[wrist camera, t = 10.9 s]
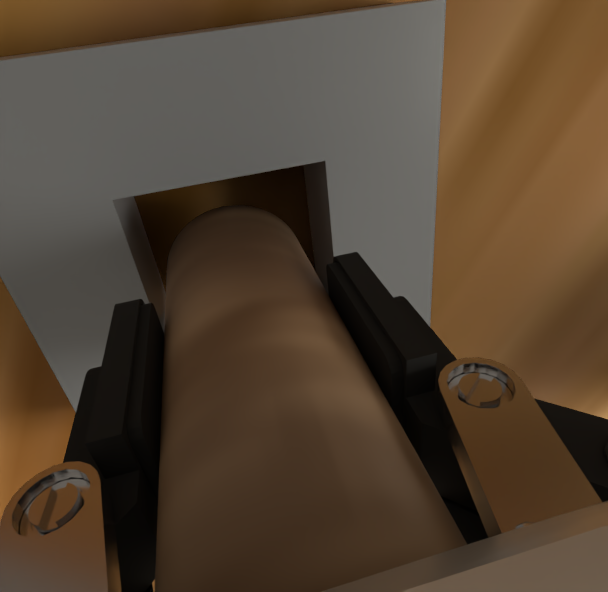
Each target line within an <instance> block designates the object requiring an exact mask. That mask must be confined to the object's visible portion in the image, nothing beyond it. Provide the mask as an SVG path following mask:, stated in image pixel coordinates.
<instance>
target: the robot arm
mask: <svg viewBox="0 0 608 592" xmlns="http://www.w3.org/2000/svg"><path fill="white" fill-rule="evenodd" d="M326 272H327V282H328V292H329V297H330V299H331V301H332V302H333V304H334V306H335V308H336V310H337V311H338V313H339V315H340V317H341V319H342V320H343V322H344V324H345V326H346V327H347V329H348V331H349V333H350V335H351V336H352V338H353V340H354V342H355V344H356V345H357V347H358V349H359V351H360V353H361V354H362V356H363V358H364V360H365V362H366V363H367V365H368V367H369V369H370V371H371V372H372V374H373V376H374V378H375V380H376V381H377V383H378V385H379V387H380V388H381V390H382V392H383V394H384V396H385V397H386V399H387V401H388V403H389V405H390V406H391V408H392V410H393V412H394V414H395V415H396V417H397V419H398V421H399V423H400V424H401V426H402V428H403V430H404V432H405V433H406V435H407V437H408V439H409V441H410V442H411V444H412V446H413V448H414V449H415V451H416V453H417V455H418V457H419V458H420V460H421V462H422V464H423V466H424V467H425V469H426V471H427V473H428V475H429V476H430V478H431V480H432V482H433V484H434V485H435V487H436V489H437V491H438V493H439V494H440V496H441V498H442V500H443V502H444V503H445V505H446V507H447V509H448V511H449V512H450V514H451V516H452V518H453V519H454V521H455V523H456V525H457V527H458V528H459V530H460V532H461V534H462V536H463V537H464V539H465V541H466V543H467V545H464V546H461V547H458V548H455V549H452V550H449V551H446V552H443V553H439V554H436V555H433V556H430V557H427V558H424V559H421V560H417V561H414V562H411V563H408V564H405V565H402V566H399V567H396V568H393V569H390V570H387V571H384V572H380V573H377V574H374V575H371V576H368V577H365V578H362V579H359V580H356V581H353V582H350V583H346V584H343V585H340V586H337V587H334V588H331V589H328V590H325V591H322V592H608V419H604V418H601V417H597V416H594V415H590V414H587V413H583V412H580V411H576V410H573V409H569V408H566V407H562V406H558V405H555V404H551V403H548V402H544V401H541V400H537V399H534V398H533V396H532V395H531V393H530V392H529V390H528V389H527V387H526V386H525V384H524V383H523V381H522V380H521V379H520V377H519V376H518V375H517V374H516V373H515V372H514V371H513V370H511V369H510V368H508V367H507V366H505V365H503V364H501V363H498V362H496V361H493V360H489V359H484V358H463V359H459V360H457V359H456V358H455V357H454V355H453V354H452V353H451V352H450V351H449V349H448V348H447V347H446V346H445V345H444V343H443V342H442V341H441V340H440V339H439V337H438V336H437V335H436V334H435V333H434V331H433V330H432V329H431V328H430V327H429V325H428V324H427V323H426V322H425V321H424V319H423V318H422V317H421V316H420V315H419V313H418V312H417V311H416V310H415V308H414V307H413V306H412V305H411V304H410V302H409V301H408V300H407V299H406V298H405V297H404V296H398V297H393V296H392V295H391V294H390V293H389V291H388V290H387V289H386V287H385V286H384V285H383V284H382V282H381V281H380V280H379V279H378V277H377V276H376V275H375V273H374V272H373V271H372V270H371V268H370V267H369V266H368V265H367V263H366V262H365V261H364V260H363V258H362V257H361V256H360V254H359V253H358V252H353V253H348V254H343V255H339V256H334V258H333V263H330V264H327V265H326ZM163 355H164V332H163V329H162V326H161V323H160V320H159V317H158V315H157V312H156V309H155V307H154V305H153V303H148V304H145V303H144V301H143V300H142V299H137V300H132V301H127V302H123V303H118V304H115V306H114V310H113V315H112V319H111V324H110V329H109V333H108V338H107V343H106V347H105V352H104V356H103V361H102V366H100V367H96V368H92V369H89V370H88V371H87V373H86V376H85V379H84V383H83V387H82V391H81V395H80V399H79V403H78V406H77V410H76V414H75V418H74V422H73V426H72V430H71V434H70V438H69V442H68V446H67V449H66V453H65V457H64V461H63V463H61V464H58V465H54V466H52V467H50V468H48V469H46V470H44V471H42V472H40V473H38V474H37V475H35V476H34V477H33V478H31V479H30V480H29V481H27V482H26V483H25V484H24V485H23V486H22V487H21V488H20V489H19V490H18V491H17V492H16V493H15V494H14V495H13V497H12V498H11V500H10V501H9V503H8V505H7V506H6V508H5V510H4V513H3V516H2V519H1V522H0V592H155V568H156V542H157V515H158V488H159V462H160V435H161V408H162V382H163Z"/></svg>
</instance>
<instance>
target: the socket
mask: <svg viewBox="0 0 608 592" xmlns="http://www.w3.org/2000/svg"><path fill="white" fill-rule="evenodd" d="M445 12H446V0H424V1H412V2H399V3H390V4H383V5H376V6H369V7H361V8H354V9H347V10H340V11H332V12H325V13H318V14H311V15H303V16H296V17H289V18H282V19H274V20H267V21H260V22H252V23H245V24H238V25H231V26H223V27H216V28H209V29H202V30H194V31H187V32H180V33H173V34H165V35H158V36H151V37H144V38H136V39H129V40H122V41H115V42H107V43H100V44H93V45H86V46H78V47H71V48H64V49H57V50H49V51H42V52H35V53H27V54H20V55H13V56H6V57H0V277H1V278H2V280H3V282H4V284H5V286H6V287H7V289H8V291H9V293H10V295H11V296H12V298H13V300H14V302H15V304H16V305H17V307H18V309H19V311H20V313H21V314H22V316H23V318H24V320H25V322H26V323H27V325H28V327H29V329H30V331H31V333H32V334H33V336H34V338H35V340H36V342H37V343H38V345H39V347H40V349H41V351H42V352H43V354H44V356H45V358H46V360H47V361H48V363H49V365H50V367H51V369H52V370H53V372H54V374H55V376H56V378H57V379H58V381H59V383H60V385H61V387H62V388H63V390H64V392H65V394H66V396H67V397H68V399H69V401H70V403H71V405H72V406H73V408H74V410H75V412H76V410H77V406H78V403H79V399H80V395H81V391H82V387H83V383H84V379H85V376H86V373H87V371H88V370H89V369H92V368H96V367H100V366H102V361H103V356H104V352H105V347H106V343H107V338H108V333H109V329H110V324H111V319H112V315H113V310H114V306H115V304H118V303H123V302H127V301H132V300H137V299H142V300H143V301H144V303H145V304H148V303H153V305H154V307H155V309H156V312H157V315H158V317H159V320H160V323H161V326H162V329H163V332H164V328H165V301H166V292H165V289H164V286H163V283H162V280H161V277H160V274H159V271H158V268H157V265H156V262H155V259H154V256H153V252H152V249H151V246H150V243H149V240H148V237H147V234H146V231H145V228H144V225H143V222H142V219H141V216H140V213H139V210H138V207H137V204H136V201H135V198H134V196H137V195H143V194H148V193H153V192H159V191H164V190H170V189H175V188H181V187H186V186H191V185H197V184H202V183H208V182H213V181H219V180H224V179H229V178H235V177H240V176H246V175H251V174H257V173H262V172H267V171H273V170H278V169H284V168H289V167H295V166H300V165H303V167H304V176H305V185H306V194H307V202H308V211H309V220H310V229H311V238H312V246H313V255H314V264H315V272H316V274H317V275H318V277H319V279H320V281H321V283H322V284H323V286H324V288H325V290H326V292H327V293H328V295H329V292H328V282H327V272H326V265H327V264H330V263H333V258H334V256H339V255H343V254H348V253H353V252H358V253H359V254H360V256H361V257H362V258H363V260H364V261H365V262H366V263H367V265H368V266H369V267H370V268H371V270H372V271H373V272H374V273H375V275H376V276H377V277H378V279H379V280H380V281H381V282H382V284H383V285H384V286H385V287H386V289H387V290H388V291H389V293H390V294H391V295H392V296H393V297H398V296H404V297H405V298H406V299H407V300H408V301H409V302H410V304H411V305H412V306H413V307H414V308H415V310H416V311H417V312H418V313H419V315H420V316H421V317H422V318H423V319H424V321H425V322H426V323H427V324H428V325H429V327H430V317H431V297H432V276H433V256H434V236H435V215H436V195H437V175H438V154H439V134H440V114H441V93H442V73H443V53H444V32H445Z"/></svg>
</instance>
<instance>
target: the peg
mask: <svg viewBox="0 0 608 592" xmlns="http://www.w3.org/2000/svg"><path fill="white" fill-rule="evenodd" d="M464 545H467V543H466V541H465V539H464V537H463V536H462V534H461V532H460V530H459V528H458V527H457V525H456V523H455V521H454V519H453V518H452V516H451V514H450V512H449V511H448V509H447V507H446V505H445V503H444V502H443V500H442V498H441V496H440V494H439V493H438V491H437V489H436V487H435V485H434V484H433V482H432V480H431V478H430V476H429V475H428V473H427V471H426V469H425V467H424V466H423V464H422V462H421V460H420V458H419V457H418V455H417V453H416V451H415V449H414V448H413V446H412V444H411V442H410V441H409V439H408V437H407V435H406V433H405V432H404V430H403V428H402V426H401V424H400V423H399V421H398V419H397V417H396V415H395V414H394V412H393V410H392V408H391V406H390V405H389V403H388V401H387V399H386V397H385V396H384V394H383V392H382V390H381V388H380V387H379V385H378V383H377V381H376V380H375V378H374V376H373V374H372V372H371V371H370V369H369V367H368V365H367V363H366V362H365V360H364V358H363V356H362V354H361V353H360V351H359V349H358V347H357V345H356V344H355V342H354V340H353V338H352V336H351V335H350V333H349V331H348V329H347V327H346V326H345V324H344V322H343V320H342V319H341V317H340V315H339V313H338V311H337V310H336V308H335V306H334V304H333V302H332V301H331V299H330V297H329V295H328V293H327V292H326V290H325V288H324V286H323V284H322V283H321V281H320V279H319V277H318V275H317V274H316V272H315V270H314V268H313V266H312V265H311V263H310V261H309V259H308V258H307V256H306V254H305V252H304V250H303V249H302V247H301V245H300V243H299V241H298V240H297V238H296V236H295V234H294V233H293V231H292V230H291V229H290V227H289V226H288V225H287V224H286V223H285V222H284V221H282V220H281V219H280V218H278V217H277V216H275V215H273V214H272V213H270V212H268V211H265V210H263V209H260V208H256V207H252V206H244V205H231V206H223V207H219V208H216V209H212V210H210V211H207V212H205V213H203V214H201V215H200V216H198V217H196V218H195V219H193V220H192V221H191V222H189V223H188V224H187V225H186V226H185V227H184V228H183V229H182V230H181V232H180V233H179V234H178V235H177V237H176V239H175V240H174V242H173V244H172V246H171V249H170V251H169V255H168V260H167V275H166V301H165V328H164V355H163V382H162V408H161V435H160V462H159V488H158V515H157V542H156V568H155V592H322V591H325V590H328V589H331V588H334V587H337V586H340V585H343V584H346V583H350V582H353V581H356V580H359V579H362V578H365V577H368V576H371V575H374V574H377V573H380V572H384V571H387V570H390V569H393V568H396V567H399V566H402V565H405V564H408V563H411V562H414V561H417V560H421V559H424V558H427V557H430V556H433V555H436V554H439V553H443V552H446V551H449V550H452V549H455V548H458V547H461V546H464Z"/></svg>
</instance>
